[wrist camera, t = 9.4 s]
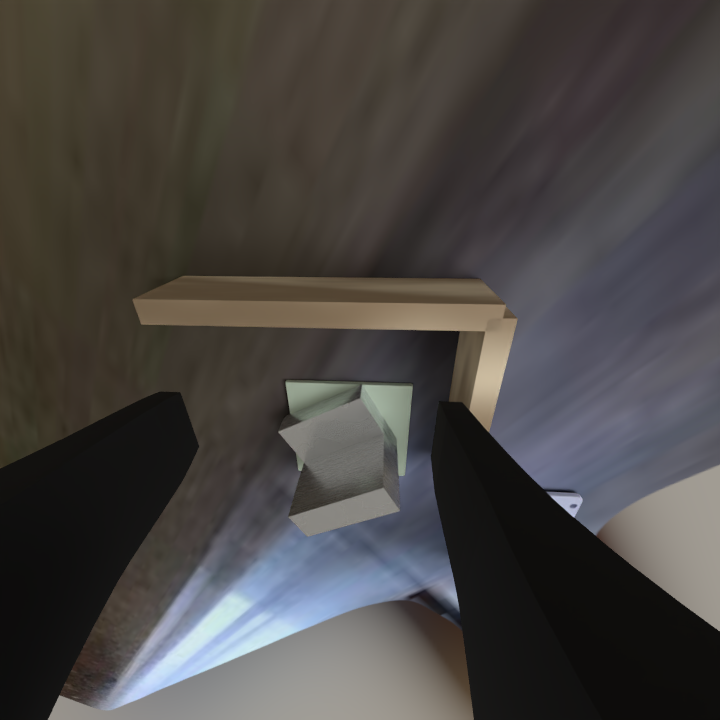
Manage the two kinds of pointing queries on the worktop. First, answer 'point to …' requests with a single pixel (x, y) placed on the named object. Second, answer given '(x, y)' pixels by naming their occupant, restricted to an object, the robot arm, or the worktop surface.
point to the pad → (385, 396)
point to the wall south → (482, 368)
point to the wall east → (324, 303)
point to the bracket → (342, 462)
